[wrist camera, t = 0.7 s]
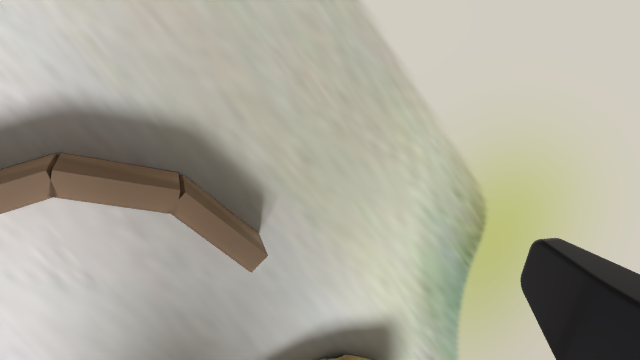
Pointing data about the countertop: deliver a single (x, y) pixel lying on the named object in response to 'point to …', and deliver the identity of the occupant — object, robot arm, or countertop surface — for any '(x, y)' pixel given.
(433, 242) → the countertop surface
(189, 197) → the walnut open arc
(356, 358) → the pastry
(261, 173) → the countertop surface
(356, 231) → the countertop surface
